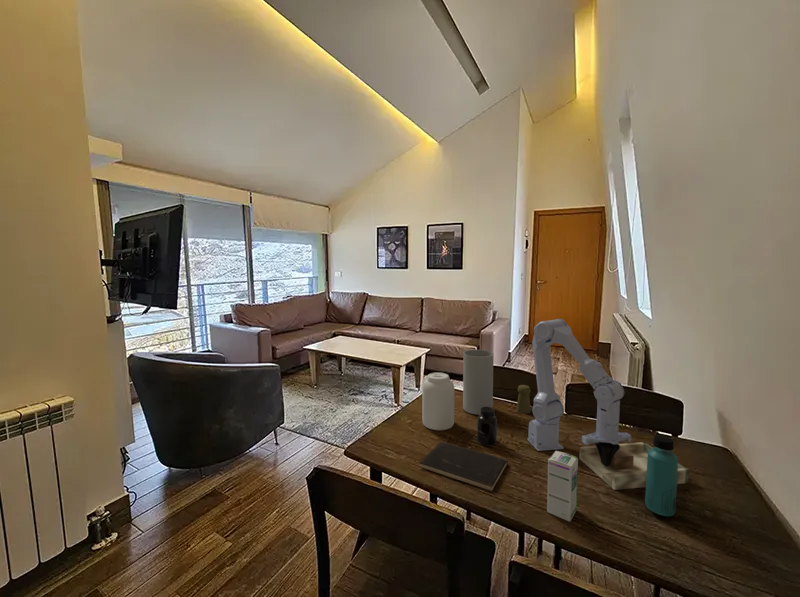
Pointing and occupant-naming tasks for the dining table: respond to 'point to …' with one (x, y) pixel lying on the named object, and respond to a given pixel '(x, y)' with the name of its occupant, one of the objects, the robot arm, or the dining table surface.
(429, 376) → the white lidded jar
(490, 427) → the supplement bottle
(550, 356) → the robot arm
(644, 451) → the trap box
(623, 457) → the walnut block
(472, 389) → the cylinder vase
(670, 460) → the beverage bottle
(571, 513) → the syrup box
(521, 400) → the cork
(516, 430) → the dining table surface
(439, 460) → the hardcover book
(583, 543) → the dining table surface
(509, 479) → the dining table surface
